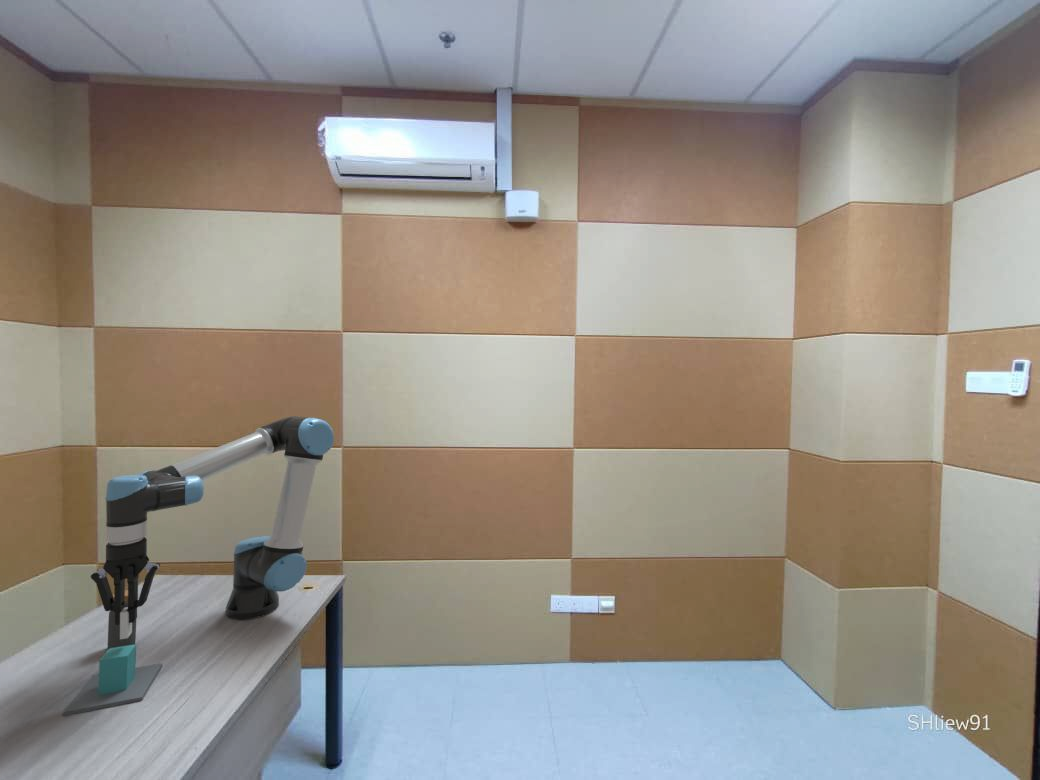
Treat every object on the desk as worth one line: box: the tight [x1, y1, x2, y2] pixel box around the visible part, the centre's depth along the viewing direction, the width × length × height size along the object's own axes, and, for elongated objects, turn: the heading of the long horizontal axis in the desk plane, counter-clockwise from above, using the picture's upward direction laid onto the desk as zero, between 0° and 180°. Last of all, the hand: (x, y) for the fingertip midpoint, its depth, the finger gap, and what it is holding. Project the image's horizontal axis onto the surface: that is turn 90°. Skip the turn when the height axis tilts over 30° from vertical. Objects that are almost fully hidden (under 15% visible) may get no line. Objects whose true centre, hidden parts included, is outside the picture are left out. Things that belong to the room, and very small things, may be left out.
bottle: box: [107, 589, 137, 650], centre depth 125 cm, size 6×6×15 cm
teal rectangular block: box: [98, 643, 137, 695], centre depth 108 cm, size 5×5×8 cm
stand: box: [62, 662, 164, 717], centre depth 108 cm, size 14×14×7 cm
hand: (126, 635), depth 110 cm, fingers closed
